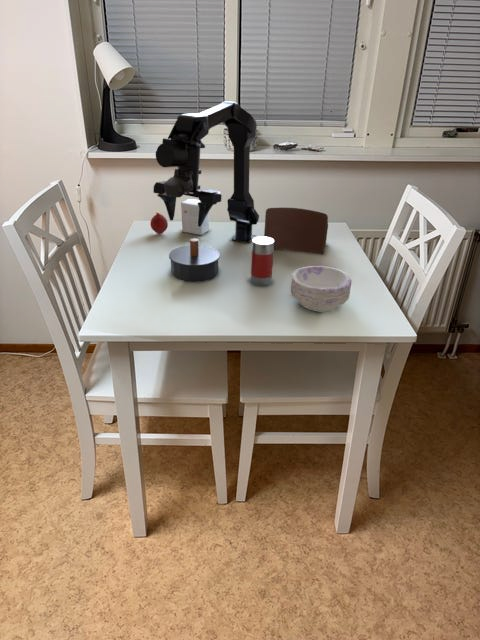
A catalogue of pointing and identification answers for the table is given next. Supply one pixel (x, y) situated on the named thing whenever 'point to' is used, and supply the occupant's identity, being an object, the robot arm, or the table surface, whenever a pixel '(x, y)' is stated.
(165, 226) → the onion
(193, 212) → the small box
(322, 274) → the paper bowls
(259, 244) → the cylinder
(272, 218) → the letter holder
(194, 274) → the pot
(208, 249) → the lid
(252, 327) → the table surface
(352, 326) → the table surface
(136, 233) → the table surface
